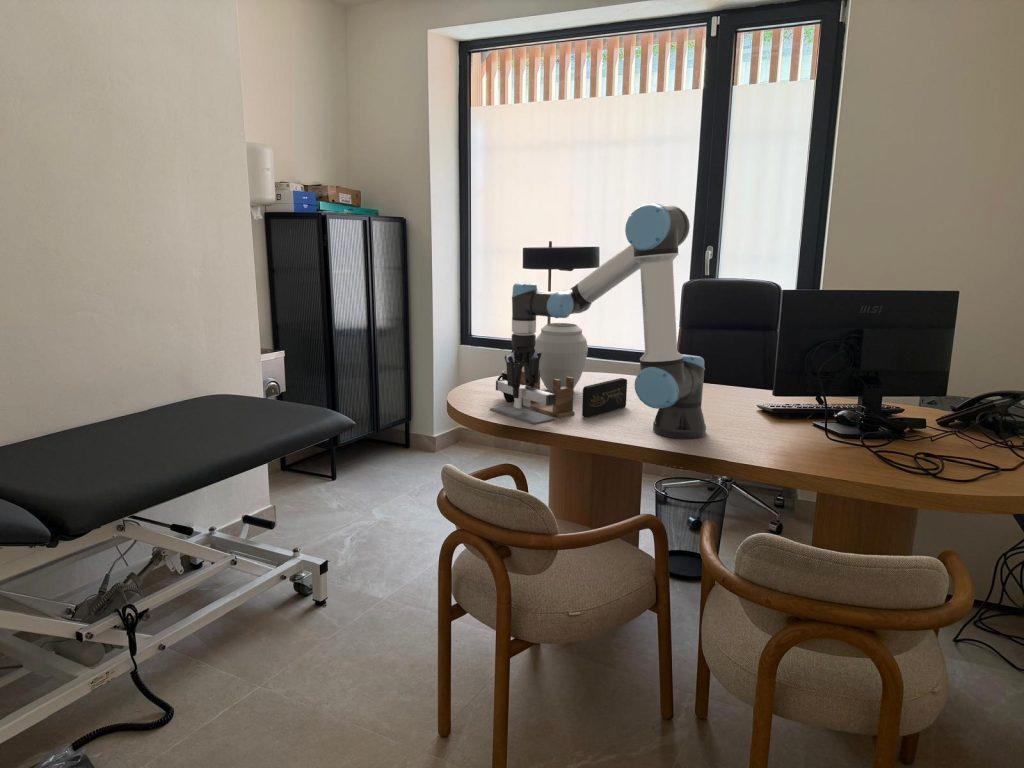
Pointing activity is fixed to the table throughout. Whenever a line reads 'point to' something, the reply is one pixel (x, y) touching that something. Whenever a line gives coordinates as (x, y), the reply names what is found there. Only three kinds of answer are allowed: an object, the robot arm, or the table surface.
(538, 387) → the rack
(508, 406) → the mat
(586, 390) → the nameplate
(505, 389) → the rail
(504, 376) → the mug
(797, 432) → the table surface
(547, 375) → the vase
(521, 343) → the robot arm
